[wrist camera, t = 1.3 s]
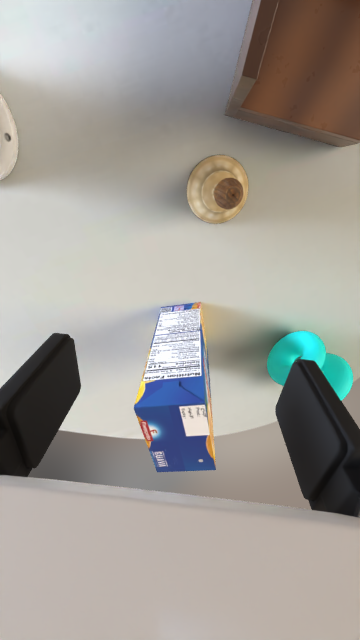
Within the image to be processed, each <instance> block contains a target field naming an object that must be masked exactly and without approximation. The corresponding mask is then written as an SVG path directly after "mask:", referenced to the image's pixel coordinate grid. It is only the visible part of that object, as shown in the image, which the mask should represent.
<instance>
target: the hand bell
mask: <svg viewBox="0 0 360 640" xmlns="http://www.w3.org/2000/svg"><path fill="white" fill-rule="evenodd" d="M247 195H248V178H247V175H246V172H245V170H244V168H243V167H242V166H241V164H240V163H239V162H238V161H236V160H235V159H233V158H232V157H229V156H226V155H214V156H210V157H208V158H206V159H204V160H203V161H201V162H200V163H199V164H198V165H197V166H196V167H195V168H194V170H193V171H192V173H191V175H190V178H189V181H188V185H187V198H188V202H189V205H190V207H191V209H192V211H193V212H194V214H195V215H196V216H197V217H198V218H200V219H201V220H203V221H205V222H208V223H213V224H218V223H223V222H226V221H228V220H230V219H232V218H233V217H235V216H236V215H237V214H238V213H239V212H240V210H241V209H242V207H243V206H244V204H245V202H246V199H247Z"/></svg>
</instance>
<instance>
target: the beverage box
mask: <svg viewBox="0 0 360 640" xmlns="http://www.w3.org/2000/svg"><path fill="white" fill-rule="evenodd" d="M134 410H135V413H136V416H137V418H138V421H139V424H140V426H141V429H142V432H143V435H144V437H145V440H146V443H147V446H148V448H149V451H150V453H151V456H152V459H153V462H154V465H155V467H156V470H157V472H173V471H197V470H198V471H199V470H216V467H215V451H214V436H213V422H212V407H211V393H210V378H209V364H208V351H207V344H206V337H205V330H204V323H203V316H202V309H201V302H198V303H190V304H183V305H175V306H167V307H161V311H160V314H159V318H158V322H157V325H156V329H155V333H154V336H153V340H152V343H151V347H150V351H149V354H148V358H147V362H146V365H145V369H144V373H143V376H142V380H141V384H140V387H139V391H138V395H137V398H136V402H135V406H134Z"/></svg>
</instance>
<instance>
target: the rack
mask: <svg viewBox="0 0 360 640" xmlns="http://www.w3.org/2000/svg"><path fill="white" fill-rule="evenodd" d="M225 115H226V116H229V117H233V118H237V119H240V120H244V121H248V122H251V123H255V124H258V125H262V126H266V127H269V128H273V129H277V130H280V131H284V132H287V133H291V134H295V135H298V136H302V137H306V138H309V139H313V140H316V141H320V142H324V143H327V144H331V145H334V146H338V147H344V146H348V145H352V144H357V143H360V0H253V1H252V5H251V9H250V13H249V17H248V22H247V26H246V30H245V34H244V38H243V42H242V46H241V50H240V54H239V58H238V62H237V66H236V70H235V75H234V79H233V83H232V87H231V91H230V95H229V99H228V103H227V107H226V111H225Z"/></svg>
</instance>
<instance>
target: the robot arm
mask: <svg viewBox="0 0 360 640" xmlns="http://www.w3.org/2000/svg"><path fill="white" fill-rule="evenodd" d="M10 137H11V138H10ZM17 156H18V135H17V130H16V125H15V122H14V119H13V116H12V113H11V111H10V109H9V107H8V105H7V103H6V101H5V100H4V98H3V97H2V95H1V94H0V180H2V179H4V178H5V177H6V176H7V175H9V174H10V172H11V171H12V169H13V168H14V166H15V163H16V160H17ZM80 388H81V383H80V377H79V370H78V364H77V357H76V351H75V344H74V340H73V338H70V336H69V335H68V334H60V333H53V334H52V335H51V336H50V337H49V338H48V339H47V340H46V341H45V342H44V343H43V344H42V346H41V347H40V348H39V349H38V350H37V351H36V352H35V353H34V354H33V355H32V356H31V357H30V358H29V359H28V360H27V361H26V362H25V363H24V364H23V365H22V366H21V367H20V368H19V370H18V371H17V372H16V373H15V374H14V375H13V376H12V377H11V378H10V379H9V380H8V381H7V382H6V383H5V384H4V385H3V386H2V387H1V388H0V640H360V429H359V428H358V426H357V424H356V423H355V422H354V420H353V418H352V417H351V415H350V414H349V412H348V411H347V409H346V408H345V406H344V405H343V403H342V401H341V400H340V398H339V397H338V395H337V394H336V392H335V391H334V389H333V388H332V386H331V385H330V383H329V382H328V380H327V378H326V377H325V375H324V374H323V372H322V371H321V369H320V368H319V366H318V365H317V363H316V362H315V361H313V360H305V359H299V360H298V361H297V362H294V363H293V364H292V366H291V369H290V372H289V374H288V377H287V379H286V382H285V384H284V387H283V390H282V392H281V395H280V397H279V400H278V402H277V405H276V416H277V419H278V422H279V425H280V428H281V431H282V434H283V437H284V440H285V443H286V446H287V449H288V452H289V455H290V458H291V461H292V464H293V467H294V470H295V473H296V476H297V479H298V482H299V485H300V488H301V491H302V494H303V496H304V498H305V499H308V500H309V503H310V506H311V509H312V510H308V509H301V508H293V507H286V506H278V505H270V504H261V503H254V502H245V501H237V500H228V499H221V498H212V497H203V496H195V495H186V494H178V493H169V492H160V491H151V490H143V489H134V488H125V487H116V486H107V485H98V484H89V483H80V482H71V481H62V480H52V479H41V478H30V477H28V475H29V473H30V471H31V470H32V468H36V467H37V466H38V464H39V463H40V461H41V459H42V458H43V456H44V454H45V453H46V451H47V449H48V447H49V445H50V443H51V442H52V440H53V438H54V436H55V435H56V433H57V431H58V430H59V428H60V426H61V424H62V422H63V421H64V419H65V417H66V415H67V414H68V412H69V410H70V408H71V406H72V405H73V403H74V401H75V399H76V398H77V396H78V394H79V392H80Z"/></svg>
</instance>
